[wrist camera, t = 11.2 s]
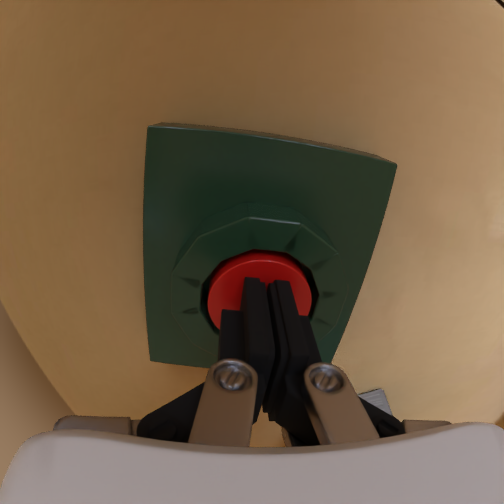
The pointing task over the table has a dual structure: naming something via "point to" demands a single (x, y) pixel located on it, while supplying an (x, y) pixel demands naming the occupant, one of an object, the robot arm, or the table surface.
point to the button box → (253, 226)
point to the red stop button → (257, 266)
